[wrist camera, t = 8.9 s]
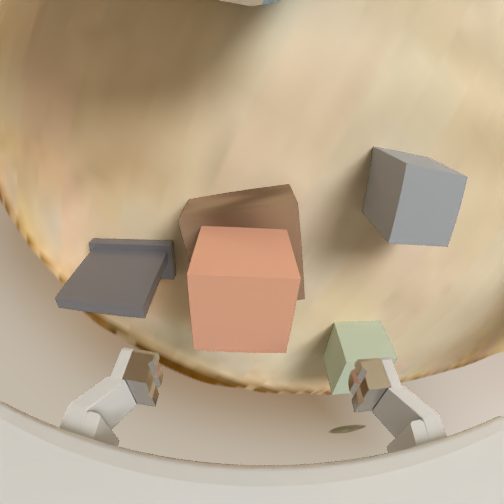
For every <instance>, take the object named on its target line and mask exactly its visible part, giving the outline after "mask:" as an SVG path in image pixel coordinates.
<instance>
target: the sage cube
mask: <svg viewBox="0 0 504 504" xmlns="http://www.w3.org/2000/svg"><path fill="white" fill-rule="evenodd" d="M384 357H390V358H391V359H392V362H393V364H394V363H395V361H396V360H397V358H398V357H397V355H396V352H395V350H394V348H393V346H392V343H391V341H390V339H389V337H388V335H387V333H386V331H385V328H384V326H383V324H382V322H381V321H361V322H334V324H333V328H332V331H331V334H330V337H329V340H328V343H327V346H326V349H325V352H324V355H323V358H324V362H325V367H326V371H327V375H328V380H329V384H330V389H331V393H332V395H334V394H345V393H351V392H350V391H349V386H348V380H349V375H350V373H351V371H352V370H354V369H355V366H354V364H355V362H356V361H357V360H358V359H370V358H384Z"/></svg>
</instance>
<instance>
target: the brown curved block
mask: <svg viewBox="0 0 504 504" xmlns="http://www.w3.org/2000/svg"><path fill="white" fill-rule="evenodd" d="M178 223H179V227H180V230H181V234H182V238H183V241H184V245H185V248H186V251H187V255H188V258H189V262H191V258H192V255H193V252H194V248H195V245H196V242H197V239H198V235H199V232H200V229H201V226H218V227H243V228H265V229H284V230H287V232H288V235H289V239H290V242H291V246H292V249H293V253H294V256H295V260H296V263H297V267H298V271H299V274H300V278H301V280H300V285H299V290H298V296H297V300H301V299H305V294H304V277H303V261H302V247H301V234H300V222H299V210H298V202H297V200H296V198H295V196H294V194H293V191H292V189H291V187H290V185H289V184H286V185H278V186H271V187H263V188H256V189H249V190H243V191H236V192H229V193H223V194H217V195H211V196H205V197H199V198H193V199H189V200H188V202H187V204H186V206H185V208H184V210H183V212H182V214H181V216H180V218H179V220H178Z"/></svg>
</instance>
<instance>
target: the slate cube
mask: <svg viewBox="0 0 504 504" xmlns="http://www.w3.org/2000/svg"><path fill="white" fill-rule="evenodd" d="M466 181H467V177H466V176H465V175H463V174H461V173H459V172H457V171H455V170H453V169H451V168H449V167H447V166H445V165H443V164H441V163H439V162H437V161H435V160H433V159H431V158H428V157H424V156H419V155H414V154H410V153H405V152H400V151H395V150H389V149H384V148H378V147H373V152H372V159H371V165H370V171H369V177H368V183H367V189H366V194H365V200H364V205H363V210H362V212H363V214H364V215H365V216H366V217H367V218H368V219H369V221H370V222H371V223H372V224H373V225H374V226H375V228H376V229H377V230H378V231H379V232H380V234H381V235H382V236H383V237H384V239H385V240H386V241H387V242H388V243H390V244H408V245H426V246H442V247H448V244H449V241H450V238H451V235H452V232H453V229H454V226H455V223H456V219H457V216H458V212H459V209H460V205H461V201H462V198H463V194H464V190H465V186H466Z"/></svg>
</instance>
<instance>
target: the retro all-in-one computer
mask: <svg viewBox="0 0 504 504" xmlns="http://www.w3.org/2000/svg"><path fill="white" fill-rule="evenodd" d="M220 1H225V2H230V3H236V4H241V5H246V6H256V5H264V4H271V3H274V2H277V1H280V0H220Z"/></svg>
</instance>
